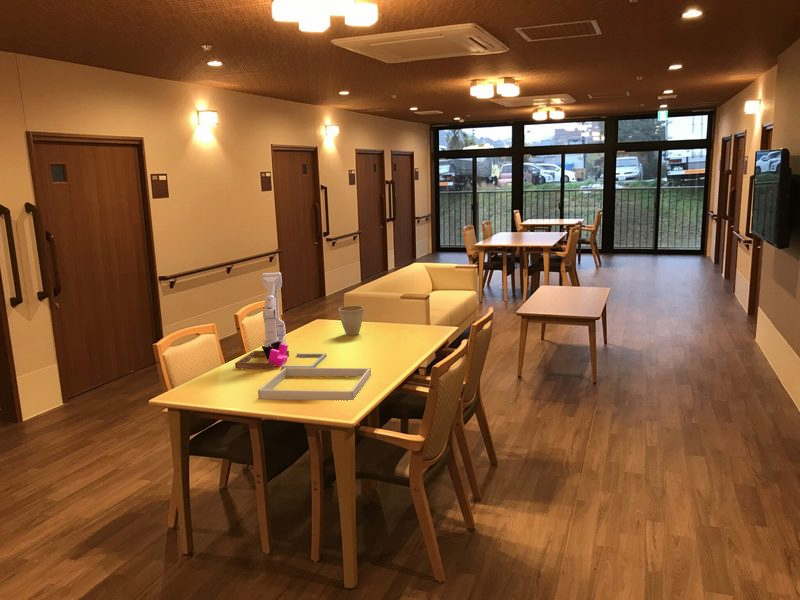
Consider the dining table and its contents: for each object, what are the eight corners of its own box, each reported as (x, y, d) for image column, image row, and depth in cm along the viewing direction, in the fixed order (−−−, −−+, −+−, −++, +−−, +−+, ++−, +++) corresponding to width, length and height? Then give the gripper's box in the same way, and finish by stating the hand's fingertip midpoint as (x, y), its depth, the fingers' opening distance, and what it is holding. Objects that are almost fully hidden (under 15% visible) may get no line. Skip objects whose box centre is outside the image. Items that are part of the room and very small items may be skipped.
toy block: (279, 367, 321) (282, 353, 319) (267, 363, 322) (270, 349, 320) (289, 359, 335) (292, 346, 334) (278, 356, 336) (281, 343, 335)
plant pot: (338, 337, 375) (336, 311, 372) (341, 331, 390) (340, 306, 387) (364, 336, 374) (362, 310, 371) (366, 330, 389) (364, 305, 386)
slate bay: (297, 356, 340) (297, 353, 340) (326, 356, 337) (326, 353, 337) (281, 369, 317) (281, 366, 317) (312, 369, 314) (312, 366, 314)
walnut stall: (254, 356, 344) (253, 350, 344) (289, 356, 341) (288, 350, 340) (235, 368, 322) (235, 363, 322) (273, 369, 318) (272, 363, 318)
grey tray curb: (285, 375, 307) (285, 367, 306) (371, 376, 299) (370, 368, 298) (258, 399, 275) (257, 390, 274) (353, 400, 267) (352, 391, 266)
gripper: (269, 328, 335) (270, 354, 337) (257, 334, 320) (259, 360, 323) (281, 328, 333) (283, 354, 335) (270, 334, 319) (272, 361, 321)
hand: (272, 357), depth 329 cm, fingers open, 7 cm apart
